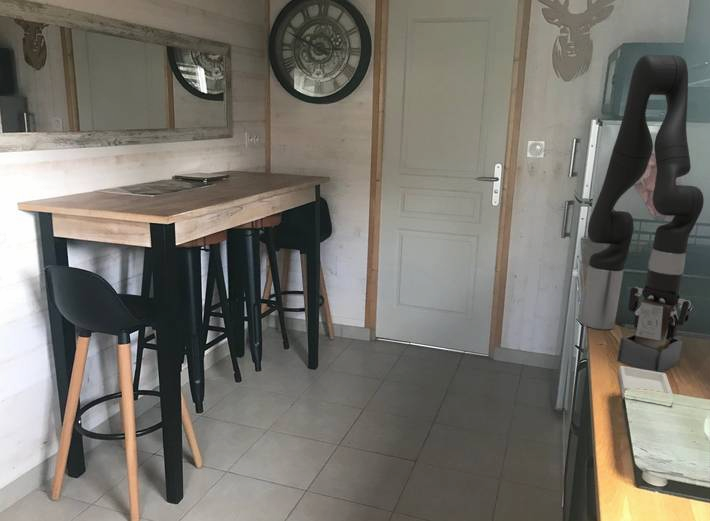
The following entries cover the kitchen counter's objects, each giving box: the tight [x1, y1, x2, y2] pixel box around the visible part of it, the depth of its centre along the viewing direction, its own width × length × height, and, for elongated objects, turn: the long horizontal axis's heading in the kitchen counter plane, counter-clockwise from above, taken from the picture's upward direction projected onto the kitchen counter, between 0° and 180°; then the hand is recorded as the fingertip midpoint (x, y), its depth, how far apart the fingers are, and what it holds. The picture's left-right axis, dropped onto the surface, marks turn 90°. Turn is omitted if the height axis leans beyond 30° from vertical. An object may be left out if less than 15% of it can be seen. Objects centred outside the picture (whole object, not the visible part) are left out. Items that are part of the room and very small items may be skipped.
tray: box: [618, 365, 674, 399], centre depth 134 cm, size 13×10×2 cm
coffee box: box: [634, 298, 679, 349], centre depth 148 cm, size 9×6×16 cm
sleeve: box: [616, 332, 685, 373], centre depth 149 cm, size 10×13×6 cm
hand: (653, 334), depth 148 cm, fingers closed on coffee box, 7 cm apart
